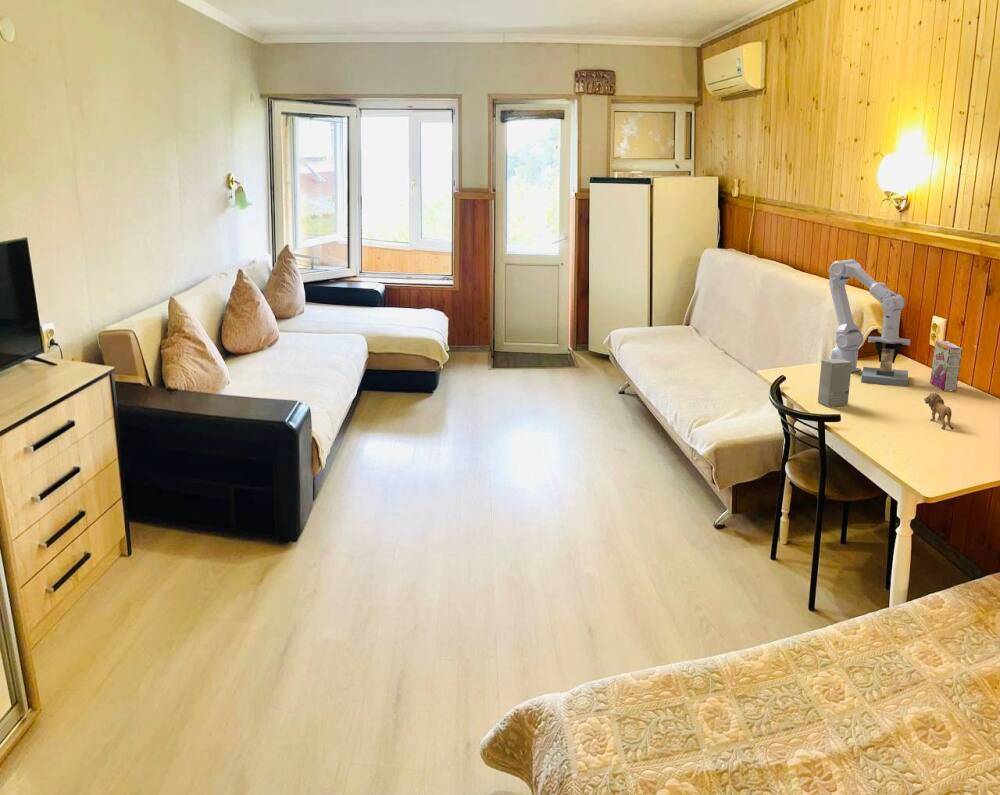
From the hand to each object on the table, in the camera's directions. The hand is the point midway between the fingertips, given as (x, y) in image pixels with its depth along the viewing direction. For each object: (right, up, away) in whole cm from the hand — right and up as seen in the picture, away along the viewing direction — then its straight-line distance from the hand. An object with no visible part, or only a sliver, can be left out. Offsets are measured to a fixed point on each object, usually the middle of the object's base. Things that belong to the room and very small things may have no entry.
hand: (886, 361), depth 319 cm
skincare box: (-31, -16, -25) cm, 43 cm away
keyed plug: (0, -3, +1) cm, 3 cm away
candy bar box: (+17, -10, -9) cm, 21 cm away
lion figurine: (-5, -22, -47) cm, 52 cm away
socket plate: (0, -7, +2) cm, 7 cm away
